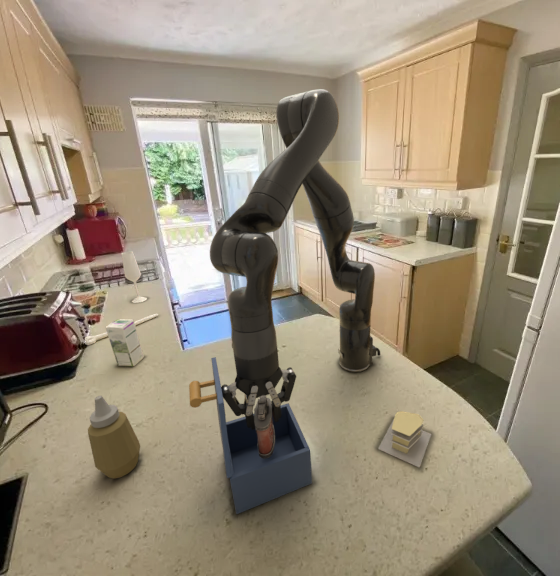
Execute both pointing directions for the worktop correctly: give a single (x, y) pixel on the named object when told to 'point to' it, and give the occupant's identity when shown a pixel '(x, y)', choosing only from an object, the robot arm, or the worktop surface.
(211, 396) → the blue box lid
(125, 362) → the syrup box
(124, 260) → the champagne flute
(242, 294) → the robot arm
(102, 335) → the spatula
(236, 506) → the box
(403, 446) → the stacked layers on plate
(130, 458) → the squeeze bottle
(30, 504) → the worktop surface
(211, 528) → the worktop surface
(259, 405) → the lighter
